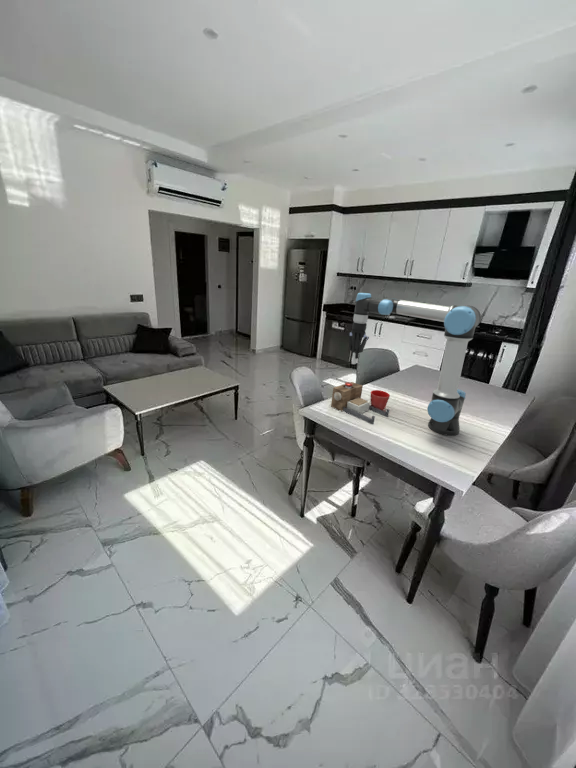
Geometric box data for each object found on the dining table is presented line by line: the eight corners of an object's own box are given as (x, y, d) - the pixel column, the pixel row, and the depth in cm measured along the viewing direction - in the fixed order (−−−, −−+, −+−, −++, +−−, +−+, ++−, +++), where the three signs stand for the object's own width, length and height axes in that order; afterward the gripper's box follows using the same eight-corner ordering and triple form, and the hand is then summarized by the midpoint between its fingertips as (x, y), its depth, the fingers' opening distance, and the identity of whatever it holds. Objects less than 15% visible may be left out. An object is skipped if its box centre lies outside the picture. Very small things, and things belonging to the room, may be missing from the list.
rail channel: (388, 416, 177) (389, 409, 176) (372, 424, 167) (373, 417, 165) (358, 404, 191) (359, 397, 189) (342, 410, 180) (343, 403, 178)
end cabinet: (359, 404, 191) (362, 385, 187) (341, 411, 179) (344, 392, 175) (349, 399, 197) (351, 381, 192) (330, 406, 184) (332, 387, 180)
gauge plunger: (352, 396, 186) (354, 383, 183) (347, 398, 183) (349, 385, 180) (346, 394, 189) (348, 381, 186) (341, 395, 186) (343, 383, 183)
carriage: (368, 410, 183) (370, 401, 181) (357, 414, 176) (359, 405, 174) (357, 405, 188) (358, 396, 186) (346, 409, 181) (347, 400, 179)
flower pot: (382, 414, 180) (386, 398, 177) (365, 408, 186) (367, 393, 183) (389, 408, 188) (392, 393, 185) (372, 403, 194) (375, 388, 191)
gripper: (374, 323, 169) (367, 365, 177) (354, 319, 178) (348, 359, 186) (366, 324, 164) (359, 367, 172) (346, 320, 173) (340, 361, 181)
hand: (353, 363), depth 179 cm, fingers closed
